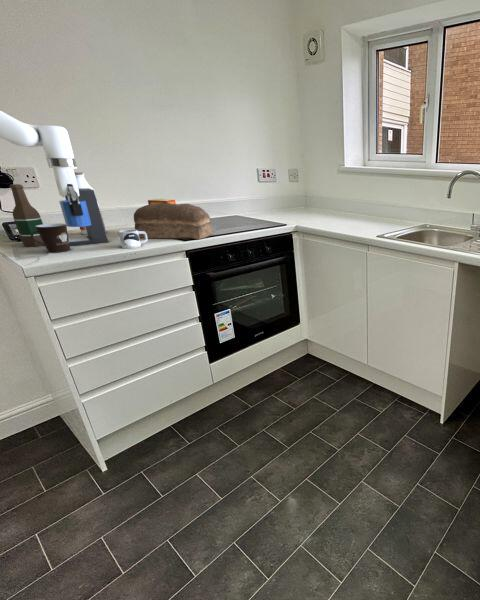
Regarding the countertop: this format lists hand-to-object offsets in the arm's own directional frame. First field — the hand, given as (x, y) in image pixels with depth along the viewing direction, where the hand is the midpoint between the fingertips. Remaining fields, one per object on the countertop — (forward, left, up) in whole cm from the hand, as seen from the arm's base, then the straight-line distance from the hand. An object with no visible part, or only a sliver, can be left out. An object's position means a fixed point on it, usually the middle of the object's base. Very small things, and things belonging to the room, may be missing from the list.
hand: (76, 213), depth 131 cm
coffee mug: (-9, +10, -15) cm, 20 cm away
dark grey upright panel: (+1, +24, -15) cm, 28 cm away
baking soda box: (+36, +32, -15) cm, 51 cm away
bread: (+35, +15, -15) cm, 41 cm away
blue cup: (0, 0, -4) cm, 4 cm away
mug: (+16, +3, -15) cm, 23 cm away
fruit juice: (+8, +45, -15) cm, 48 cm away
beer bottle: (-13, +28, -15) cm, 34 cm away
